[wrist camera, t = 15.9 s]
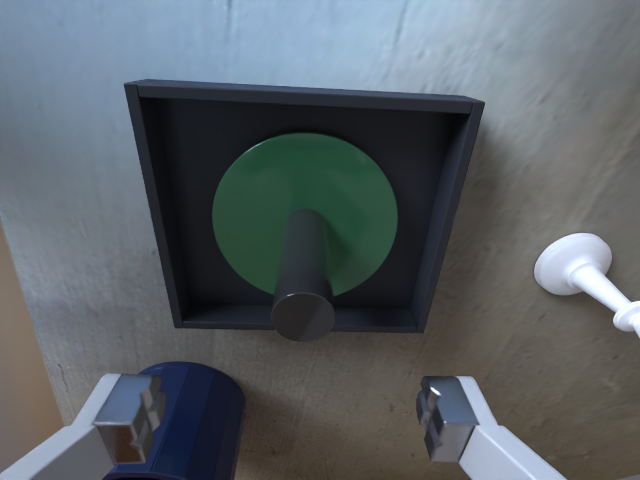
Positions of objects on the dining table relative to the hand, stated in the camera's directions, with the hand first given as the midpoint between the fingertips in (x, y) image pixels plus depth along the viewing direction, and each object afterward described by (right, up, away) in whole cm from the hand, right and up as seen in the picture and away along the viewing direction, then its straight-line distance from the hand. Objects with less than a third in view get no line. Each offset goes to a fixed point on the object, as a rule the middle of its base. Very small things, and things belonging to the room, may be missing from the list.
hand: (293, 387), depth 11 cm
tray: (0, +6, +11) cm, 13 cm away
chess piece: (+19, +3, +14) cm, 23 cm away
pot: (-11, -10, +20) cm, 25 cm away
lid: (0, +6, +10) cm, 12 cm away
